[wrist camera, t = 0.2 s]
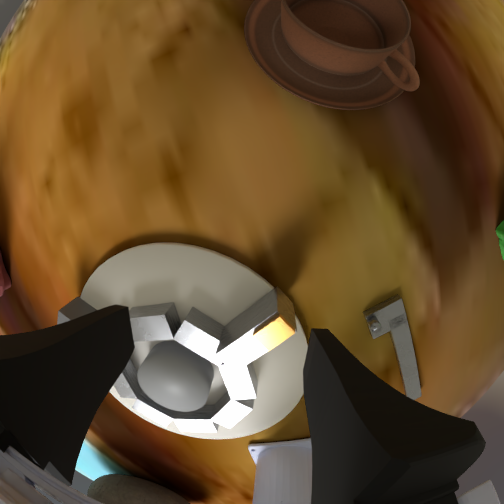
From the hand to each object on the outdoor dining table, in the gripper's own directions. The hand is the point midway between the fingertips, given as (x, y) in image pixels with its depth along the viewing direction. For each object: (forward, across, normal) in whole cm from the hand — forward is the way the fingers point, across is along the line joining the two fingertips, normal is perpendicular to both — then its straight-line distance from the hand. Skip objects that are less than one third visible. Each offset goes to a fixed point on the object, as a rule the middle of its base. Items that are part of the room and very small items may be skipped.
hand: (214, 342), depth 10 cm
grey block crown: (+9, +3, +9) cm, 13 cm away
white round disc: (+10, +5, +10) cm, 15 cm away
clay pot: (+10, +15, +47) cm, 51 cm away
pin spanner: (+10, -14, +8) cm, 19 cm away
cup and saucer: (+10, -5, -17) cm, 20 cm away
